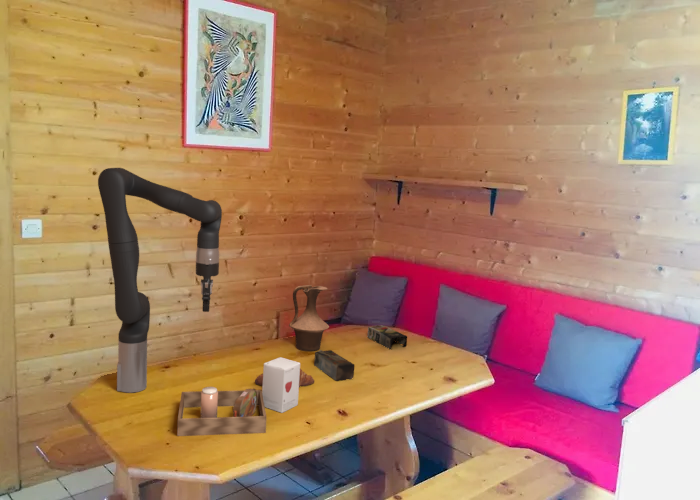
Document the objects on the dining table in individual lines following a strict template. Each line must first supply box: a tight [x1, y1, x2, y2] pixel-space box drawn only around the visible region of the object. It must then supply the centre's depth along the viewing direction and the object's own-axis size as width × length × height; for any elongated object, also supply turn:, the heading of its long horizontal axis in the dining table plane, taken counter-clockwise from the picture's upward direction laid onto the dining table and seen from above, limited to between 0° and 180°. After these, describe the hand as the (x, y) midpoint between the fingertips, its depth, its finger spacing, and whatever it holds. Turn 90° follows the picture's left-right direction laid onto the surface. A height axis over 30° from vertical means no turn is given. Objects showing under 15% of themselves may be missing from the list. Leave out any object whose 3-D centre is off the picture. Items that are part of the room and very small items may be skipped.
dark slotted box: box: [367, 324, 408, 350], centre depth 278 cm, size 20×10×6 cm, turn 32°
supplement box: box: [261, 356, 301, 414], centre depth 200 cm, size 9×9×15 cm
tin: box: [232, 388, 258, 417], centre depth 190 cm, size 15×3×8 cm, turn 168°
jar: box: [200, 386, 219, 418], centre depth 187 cm, size 5×5×10 cm
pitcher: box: [288, 284, 330, 352], centre depth 261 cm, size 18×17×28 cm
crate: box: [176, 389, 267, 437], centre depth 188 cm, size 26×21×5 cm
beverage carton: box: [313, 349, 356, 382], centre depth 236 cm, size 8×19×7 cm, turn 30°
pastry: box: [254, 368, 315, 388], centre depth 220 cm, size 17×15×8 cm
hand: (206, 308), depth 203 cm, fingers open, 8 cm apart
